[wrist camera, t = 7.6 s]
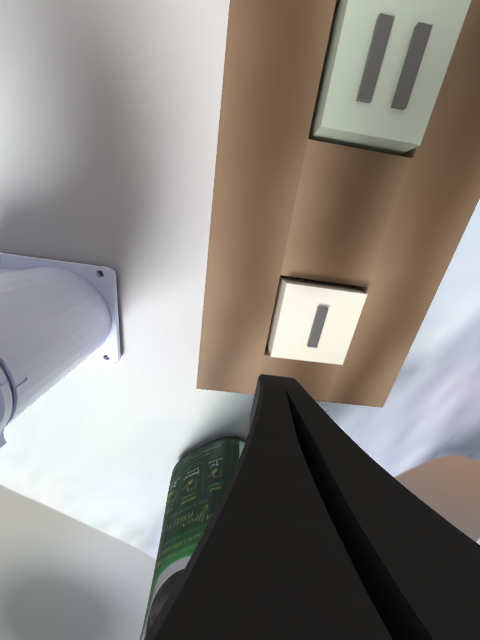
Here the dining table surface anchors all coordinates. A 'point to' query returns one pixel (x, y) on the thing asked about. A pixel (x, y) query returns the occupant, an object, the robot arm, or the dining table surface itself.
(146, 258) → the dining table surface
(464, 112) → the board
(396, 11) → the sage button
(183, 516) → the coffee jar
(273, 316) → the cream button
